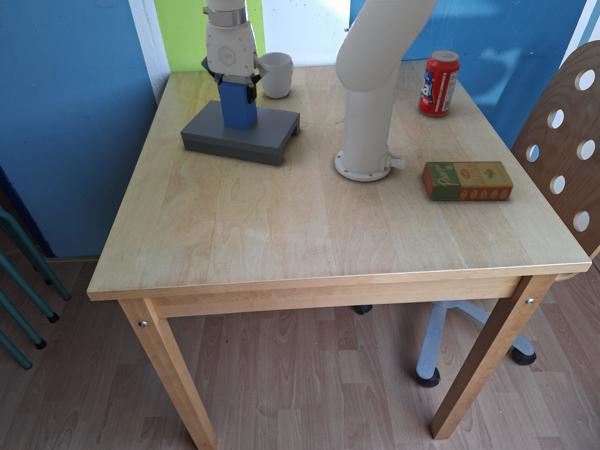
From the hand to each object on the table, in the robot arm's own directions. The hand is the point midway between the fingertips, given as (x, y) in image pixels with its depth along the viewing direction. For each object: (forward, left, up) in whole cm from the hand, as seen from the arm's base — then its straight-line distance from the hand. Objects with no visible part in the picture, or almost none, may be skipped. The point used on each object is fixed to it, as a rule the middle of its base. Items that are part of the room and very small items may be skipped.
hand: (238, 98), depth 96 cm
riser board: (0, 0, -11) cm, 11 cm away
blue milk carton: (0, 0, -6) cm, 6 cm away
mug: (0, -27, -11) cm, 29 cm away
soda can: (-43, -27, -11) cm, 52 cm away
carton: (-52, +4, -11) cm, 53 cm away
